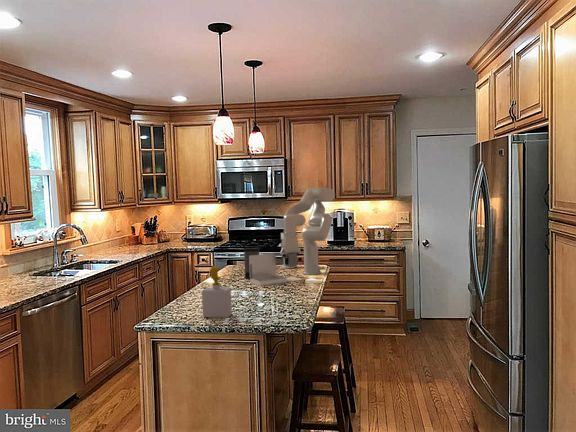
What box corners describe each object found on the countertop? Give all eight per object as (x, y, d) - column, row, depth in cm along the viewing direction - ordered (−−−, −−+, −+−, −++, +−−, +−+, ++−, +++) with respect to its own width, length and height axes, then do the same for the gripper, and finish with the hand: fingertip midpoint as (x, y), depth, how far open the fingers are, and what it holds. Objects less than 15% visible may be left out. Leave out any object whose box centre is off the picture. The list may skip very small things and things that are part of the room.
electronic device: (260, 278, 319) (259, 247, 318) (259, 279, 313) (258, 248, 312) (246, 278, 320) (245, 247, 319) (244, 279, 314) (243, 248, 313)
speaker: (282, 266, 363) (281, 231, 361) (296, 266, 362) (295, 230, 360) (281, 268, 352) (280, 232, 351) (295, 268, 351) (294, 232, 350)
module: (291, 264, 312) (291, 252, 312) (297, 266, 306) (296, 253, 306) (284, 265, 310) (284, 252, 309) (290, 267, 304) (289, 254, 303)
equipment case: (276, 279, 312) (275, 252, 311) (287, 283, 299) (286, 255, 298) (250, 283, 303) (249, 255, 302) (260, 286, 291) (259, 258, 290)
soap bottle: (232, 314, 230) (230, 264, 228) (228, 318, 223) (226, 267, 222) (207, 314, 232) (205, 264, 230) (202, 317, 225) (200, 267, 224)
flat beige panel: (293, 277, 316) (293, 276, 316) (303, 280, 306) (303, 279, 306) (280, 279, 312) (279, 278, 312) (289, 282, 301) (289, 281, 301)
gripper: (298, 233, 314) (299, 262, 315) (275, 235, 306) (275, 264, 307) (304, 234, 308) (305, 263, 309) (280, 236, 300) (281, 266, 300)
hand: (290, 263), depth 308 cm, fingers closed on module, 5 cm apart
